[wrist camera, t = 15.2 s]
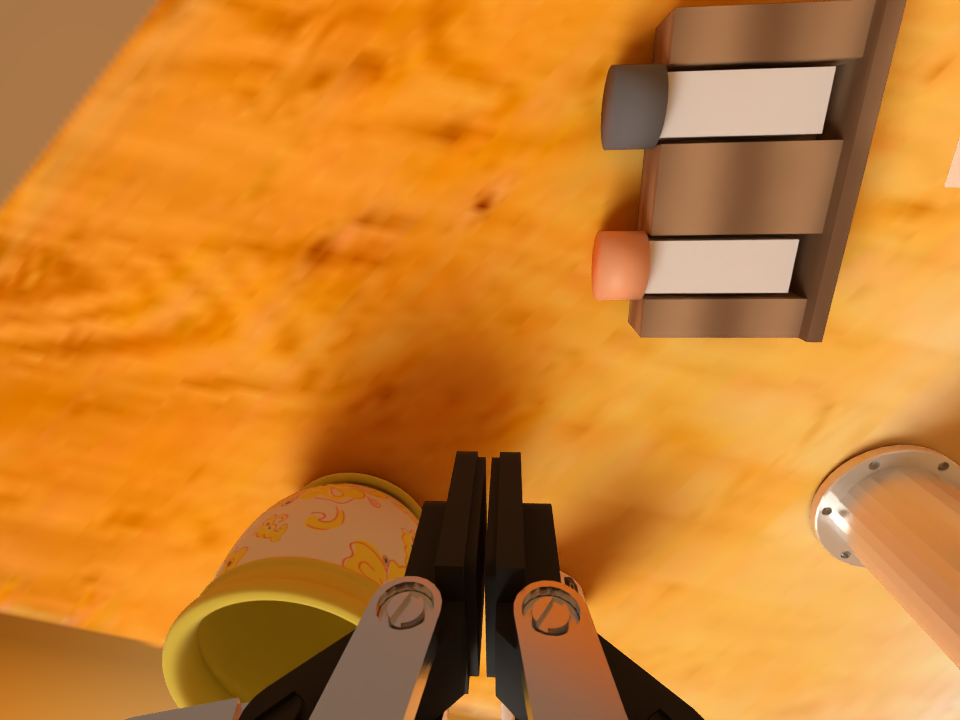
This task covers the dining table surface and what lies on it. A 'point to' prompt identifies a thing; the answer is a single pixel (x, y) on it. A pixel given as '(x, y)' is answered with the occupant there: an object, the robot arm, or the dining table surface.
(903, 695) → the dining table surface
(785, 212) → the brown wooden tray
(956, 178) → the bracket
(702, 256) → the rust knob
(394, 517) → the flowerpot
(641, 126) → the white and grey bar
